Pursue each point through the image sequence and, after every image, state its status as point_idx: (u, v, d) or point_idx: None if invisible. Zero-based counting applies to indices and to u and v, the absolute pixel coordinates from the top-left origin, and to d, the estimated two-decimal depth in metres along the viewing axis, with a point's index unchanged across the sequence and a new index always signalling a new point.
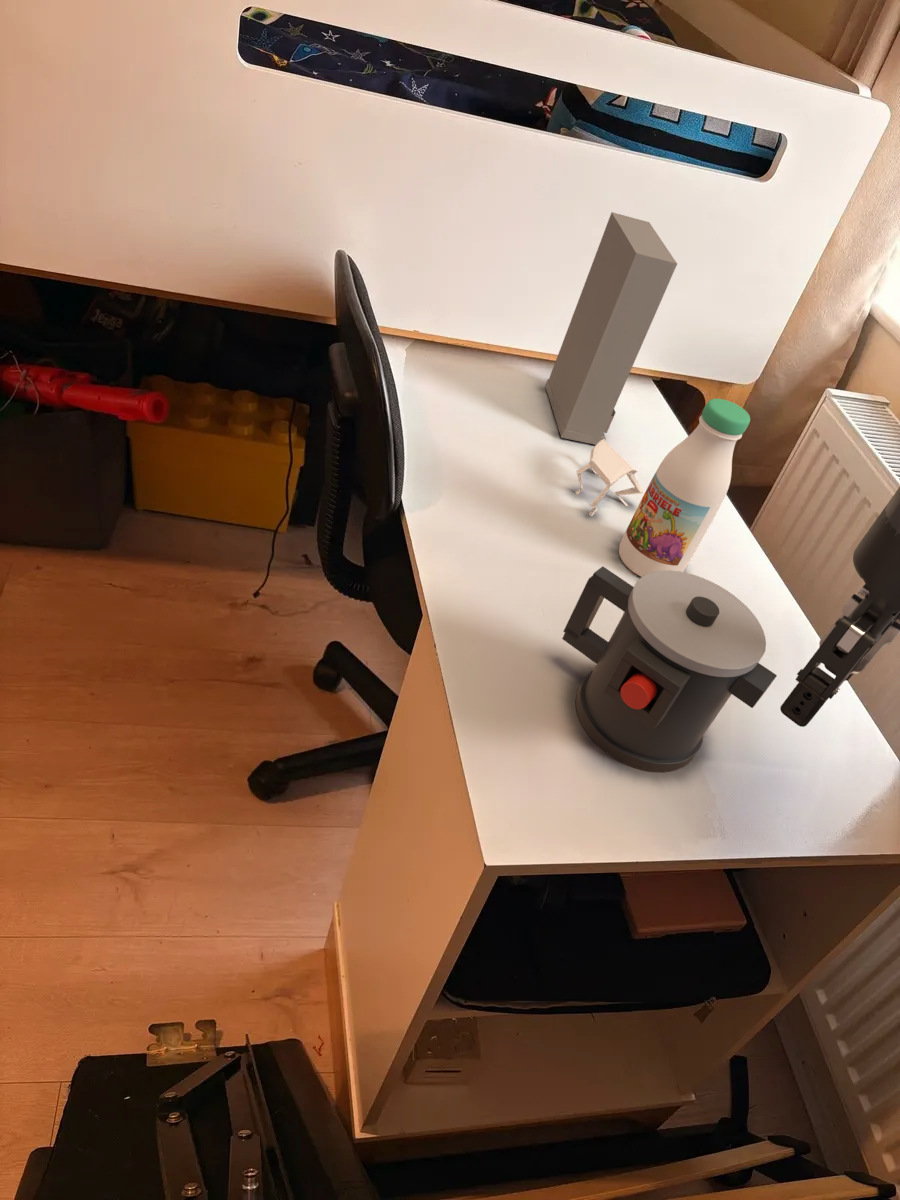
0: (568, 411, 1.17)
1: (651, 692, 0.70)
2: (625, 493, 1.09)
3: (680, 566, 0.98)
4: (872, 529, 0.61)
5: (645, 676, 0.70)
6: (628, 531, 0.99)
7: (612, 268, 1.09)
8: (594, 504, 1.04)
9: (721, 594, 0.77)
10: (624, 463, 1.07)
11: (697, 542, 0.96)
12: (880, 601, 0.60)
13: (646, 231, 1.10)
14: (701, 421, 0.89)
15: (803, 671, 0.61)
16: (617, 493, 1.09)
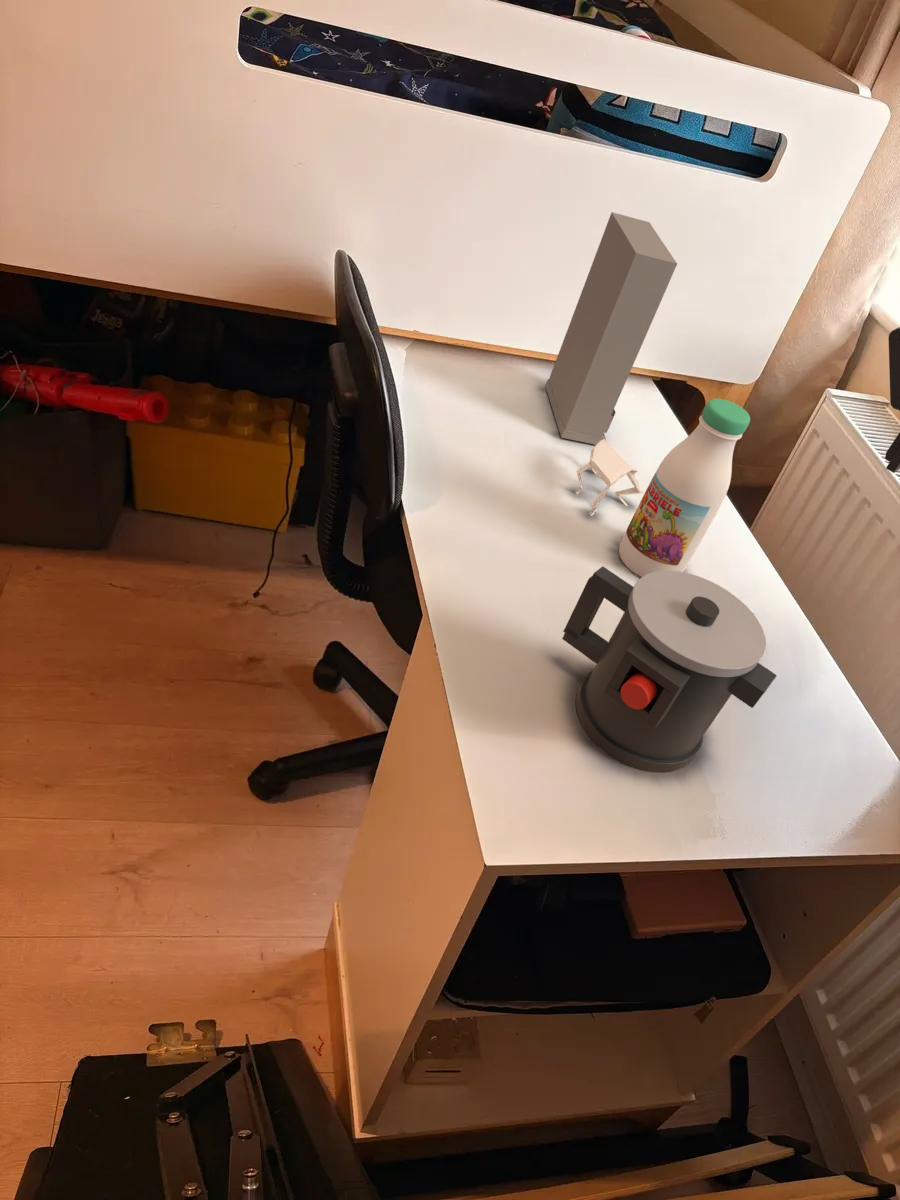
0: (568, 411, 1.17)
1: (651, 692, 0.70)
2: (625, 493, 1.09)
3: (680, 566, 0.98)
4: None
5: (645, 676, 0.70)
6: (628, 531, 0.99)
7: (612, 268, 1.09)
8: (594, 504, 1.04)
9: (721, 594, 0.77)
10: (624, 463, 1.07)
11: (697, 542, 0.96)
12: None
13: (646, 231, 1.10)
14: (701, 421, 0.89)
15: None
16: (617, 493, 1.09)
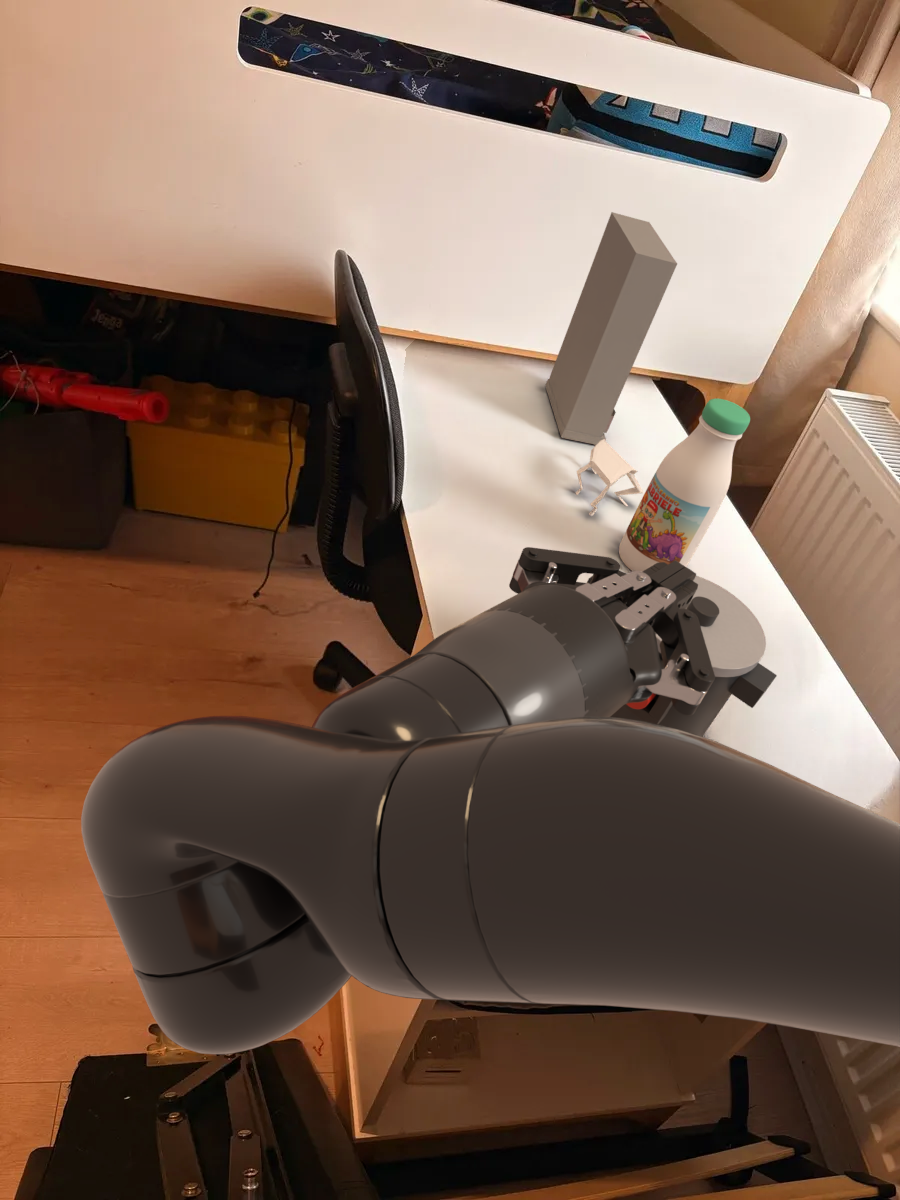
0: (568, 411, 1.17)
1: None
2: (625, 493, 1.09)
3: None
4: None
5: None
6: (628, 531, 0.99)
7: (612, 268, 1.09)
8: (594, 504, 1.04)
9: (721, 594, 0.77)
10: (624, 463, 1.07)
11: (697, 542, 0.96)
12: (626, 699, 0.43)
13: (646, 231, 1.10)
14: (701, 421, 0.89)
15: None
16: (617, 493, 1.09)
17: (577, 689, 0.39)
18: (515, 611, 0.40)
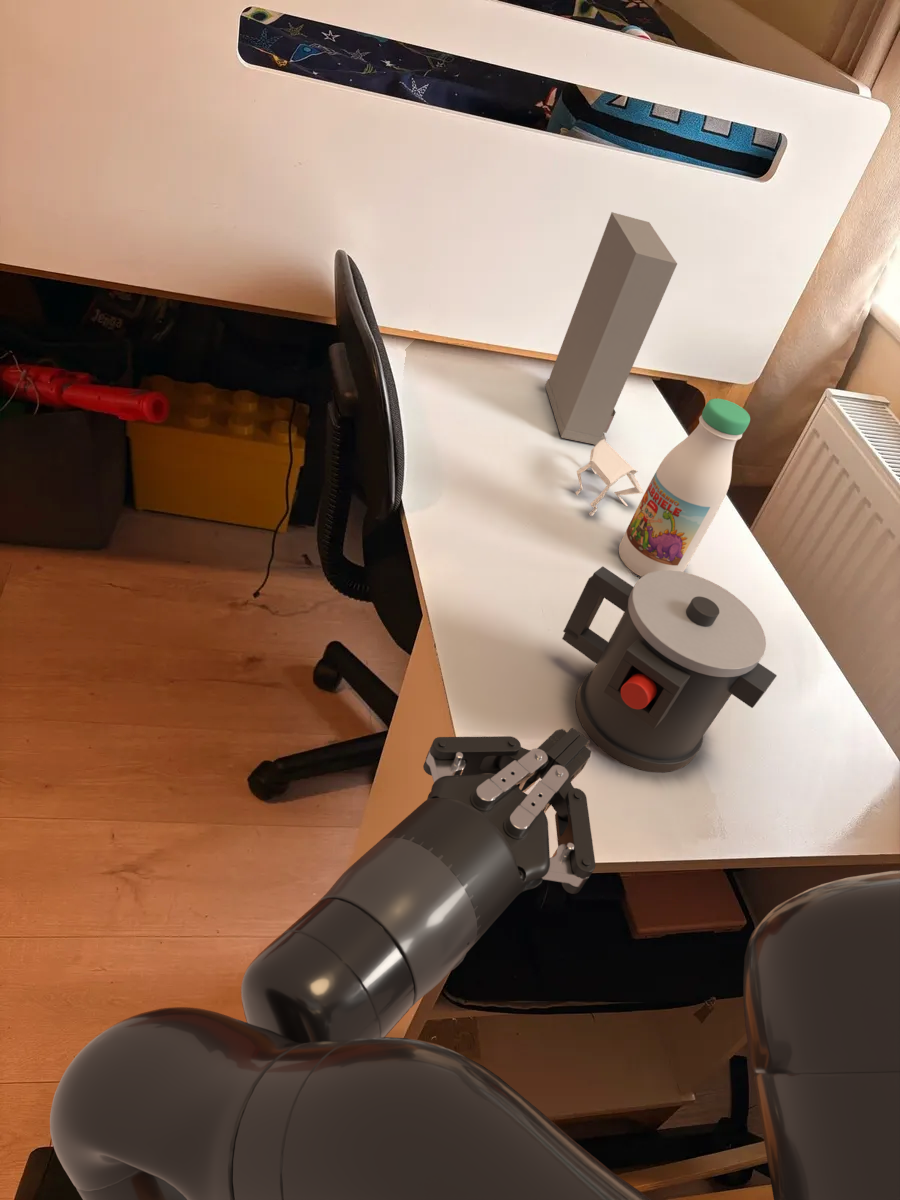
0: (568, 411, 1.17)
1: (651, 692, 0.70)
2: (625, 493, 1.09)
3: (680, 566, 0.98)
4: None
5: (645, 676, 0.70)
6: (628, 531, 0.99)
7: (612, 268, 1.09)
8: (594, 504, 1.04)
9: (721, 594, 0.77)
10: (624, 463, 1.07)
11: (697, 542, 0.96)
12: (518, 893, 0.51)
13: (646, 231, 1.10)
14: (701, 421, 0.89)
15: None
16: (617, 493, 1.09)
17: (469, 914, 0.46)
18: (417, 842, 0.47)
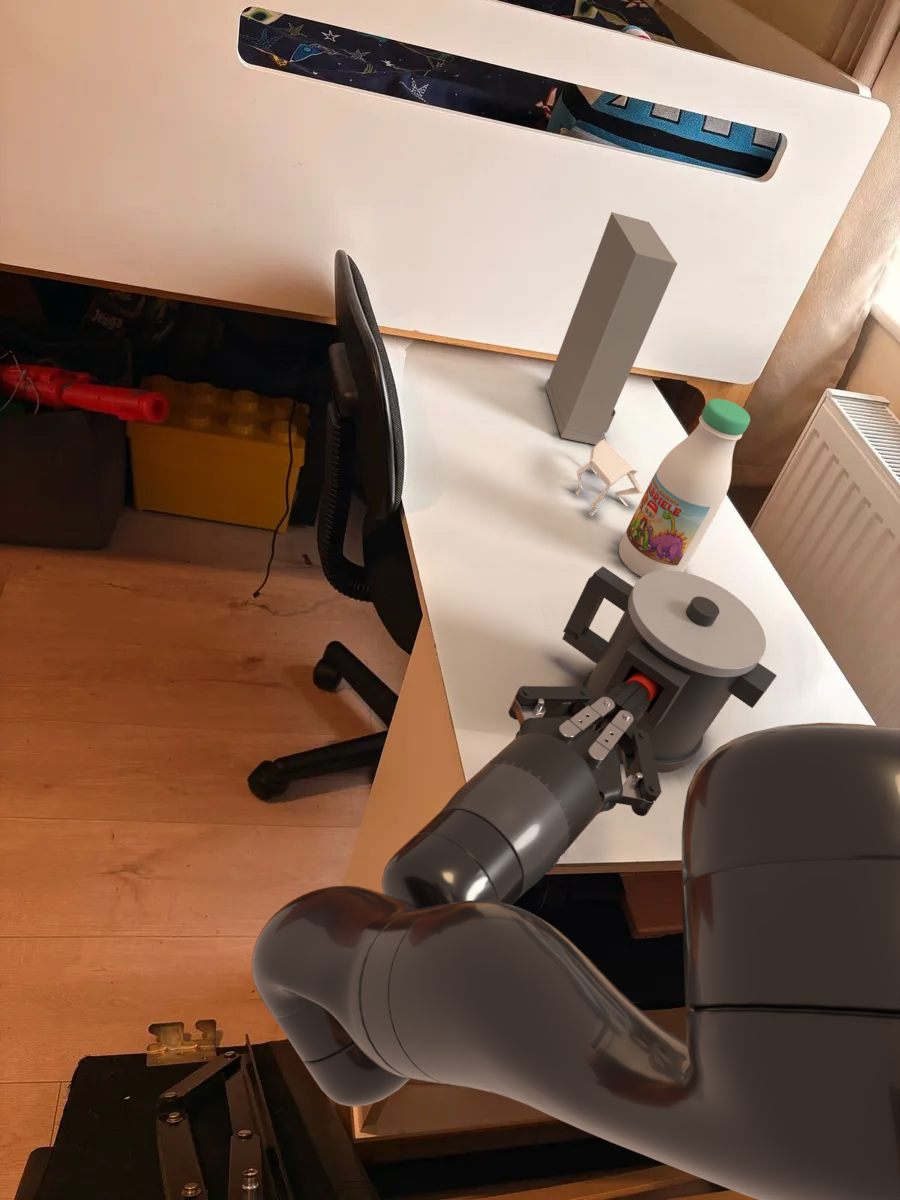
0: (568, 411, 1.17)
1: (654, 689, 0.70)
2: (625, 493, 1.09)
3: (680, 566, 0.98)
4: None
5: None
6: (628, 531, 0.99)
7: (612, 268, 1.09)
8: (594, 504, 1.04)
9: (721, 594, 0.77)
10: (624, 463, 1.07)
11: (697, 542, 0.96)
12: (598, 813, 0.60)
13: (646, 231, 1.10)
14: (701, 421, 0.89)
15: None
16: (617, 493, 1.09)
17: (563, 823, 0.56)
18: (518, 766, 0.57)
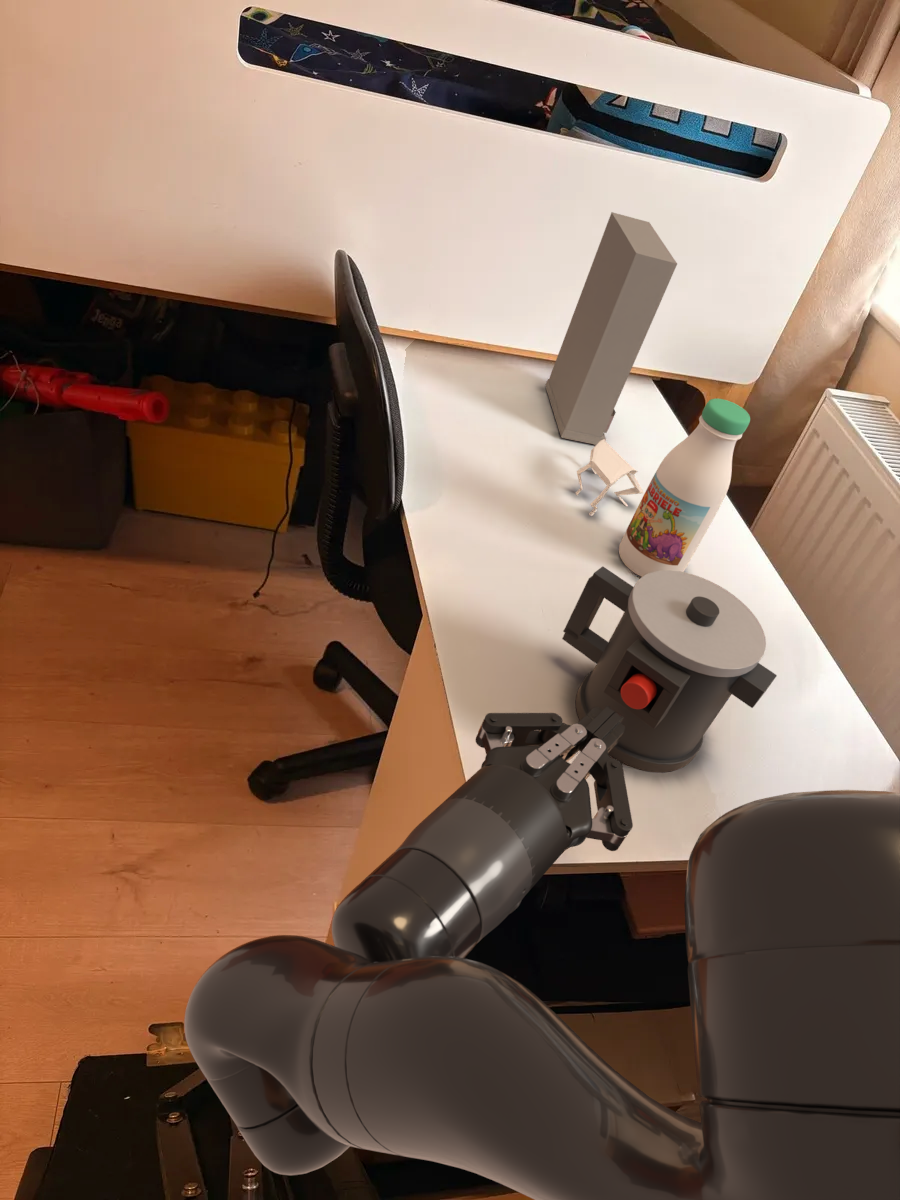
0: (568, 411, 1.17)
1: (651, 692, 0.70)
2: (625, 493, 1.09)
3: (680, 566, 0.98)
4: None
5: (645, 676, 0.70)
6: (628, 531, 0.99)
7: (612, 268, 1.09)
8: (594, 504, 1.04)
9: (721, 594, 0.77)
10: (624, 463, 1.07)
11: (697, 542, 0.96)
12: (565, 849, 0.57)
13: (646, 231, 1.10)
14: (701, 421, 0.89)
15: None
16: (617, 493, 1.09)
17: (526, 863, 0.53)
18: (479, 801, 0.54)
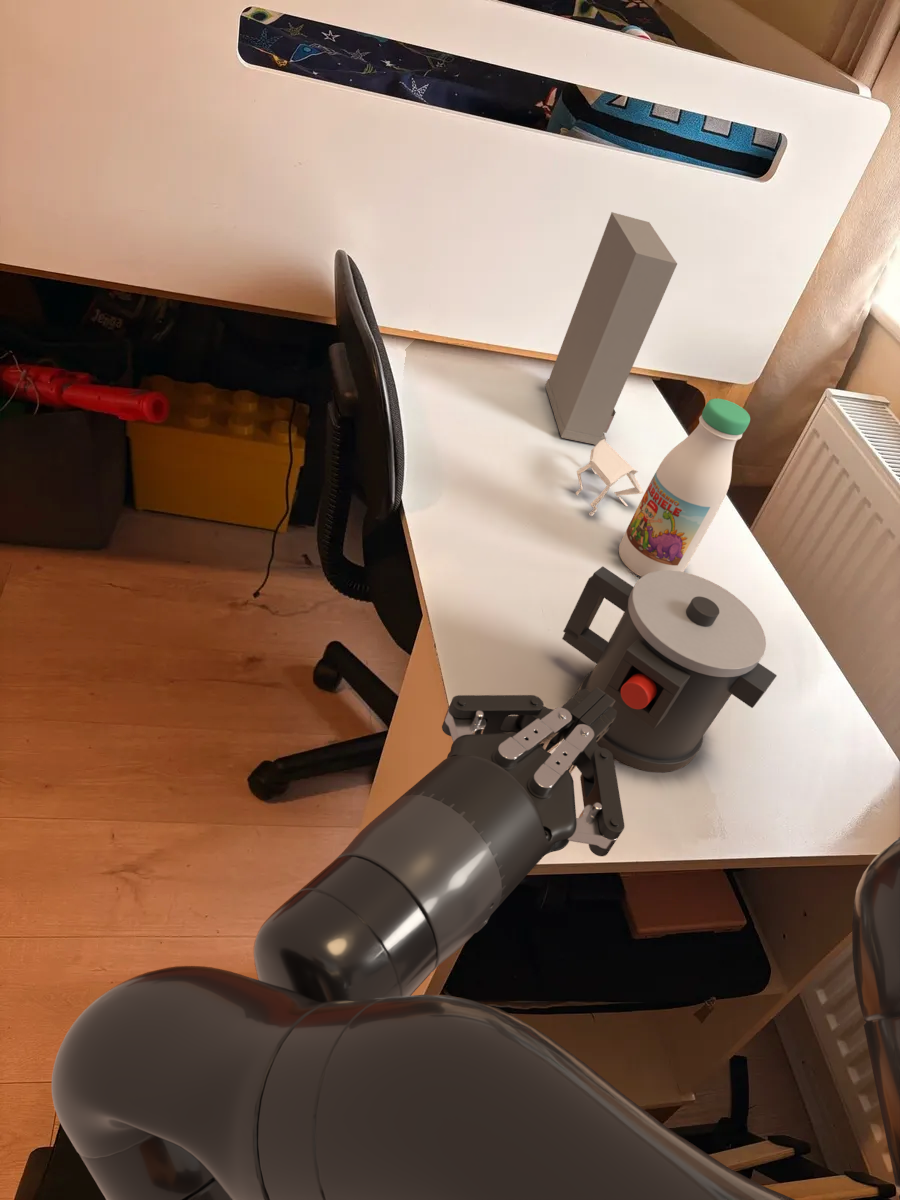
0: (568, 411, 1.17)
1: (651, 692, 0.70)
2: (625, 493, 1.09)
3: (680, 566, 0.98)
4: None
5: (645, 676, 0.70)
6: (628, 531, 0.99)
7: (612, 268, 1.09)
8: (594, 504, 1.04)
9: (721, 594, 0.77)
10: (624, 463, 1.07)
11: (697, 542, 0.96)
12: (544, 854, 0.48)
13: (646, 231, 1.10)
14: (701, 421, 0.89)
15: None
16: (617, 493, 1.09)
17: (493, 873, 0.44)
18: (438, 798, 0.45)
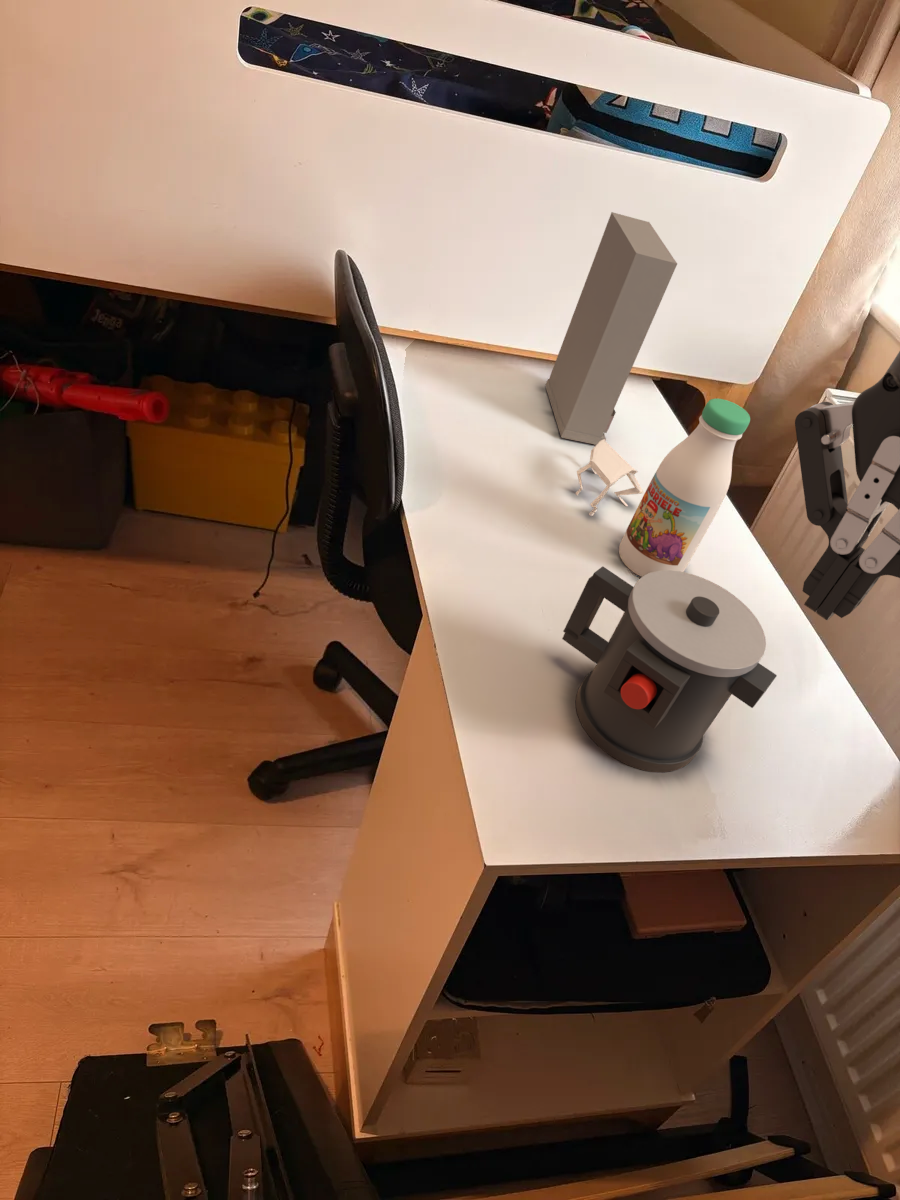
0: (568, 411, 1.17)
1: (651, 692, 0.70)
2: (625, 493, 1.09)
3: (680, 566, 0.98)
4: None
5: (645, 676, 0.70)
6: (628, 531, 0.99)
7: (612, 268, 1.09)
8: (594, 504, 1.03)
9: (721, 594, 0.77)
10: (624, 463, 1.07)
11: (697, 542, 0.96)
12: None
13: (646, 231, 1.10)
14: (701, 421, 0.89)
15: None
16: (617, 493, 1.09)
17: None
18: None
